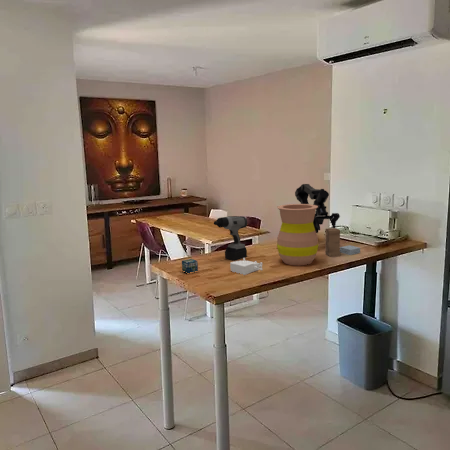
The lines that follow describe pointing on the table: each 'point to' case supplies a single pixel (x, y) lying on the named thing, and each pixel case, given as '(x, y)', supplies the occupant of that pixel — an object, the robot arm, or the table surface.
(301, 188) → the robot arm
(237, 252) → the cordless drill
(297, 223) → the vase
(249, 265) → the white box with fittings
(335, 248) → the post
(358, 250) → the plinth
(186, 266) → the puzzle
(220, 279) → the table surface
